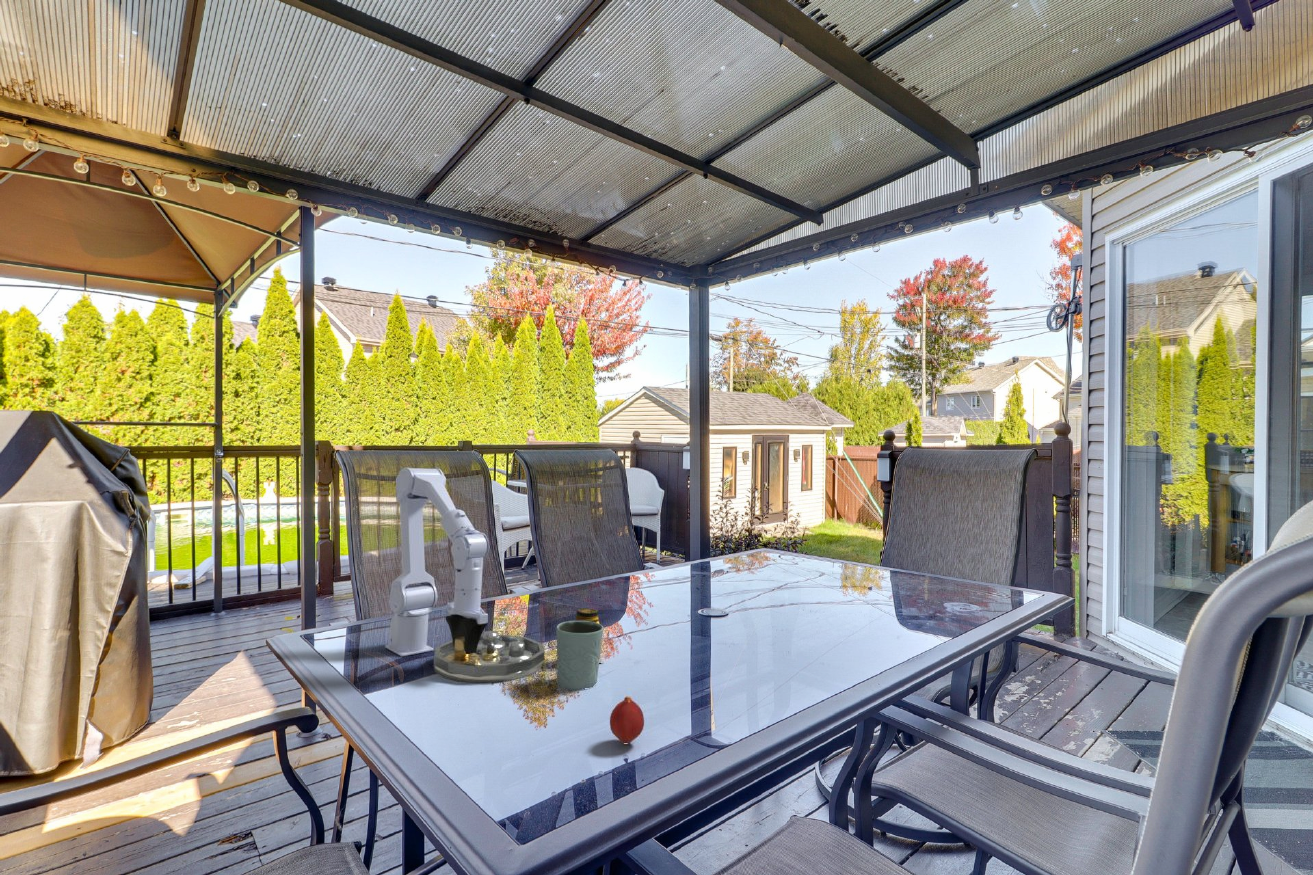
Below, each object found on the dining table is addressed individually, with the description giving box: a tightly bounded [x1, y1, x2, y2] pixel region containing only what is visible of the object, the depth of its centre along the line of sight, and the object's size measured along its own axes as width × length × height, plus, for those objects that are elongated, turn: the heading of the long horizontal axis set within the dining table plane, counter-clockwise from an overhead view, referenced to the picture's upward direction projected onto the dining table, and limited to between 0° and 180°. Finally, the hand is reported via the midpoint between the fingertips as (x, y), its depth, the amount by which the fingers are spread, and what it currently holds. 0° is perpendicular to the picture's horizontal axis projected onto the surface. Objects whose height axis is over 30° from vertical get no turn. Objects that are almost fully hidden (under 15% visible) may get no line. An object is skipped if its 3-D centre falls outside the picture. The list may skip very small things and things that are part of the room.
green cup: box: [555, 620, 604, 691], centre depth 133 cm, size 10×10×12 cm
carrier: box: [433, 630, 546, 684], centre depth 143 cm, size 24×24×6 cm
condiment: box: [575, 607, 600, 624], centre depth 148 cm, size 7×8×12 cm
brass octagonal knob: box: [445, 637, 480, 665], centre depth 138 cm, size 7×7×6 cm
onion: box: [609, 695, 645, 744], centre depth 105 cm, size 6×6×8 cm
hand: (464, 650), depth 138 cm, fingers open, 5 cm apart
